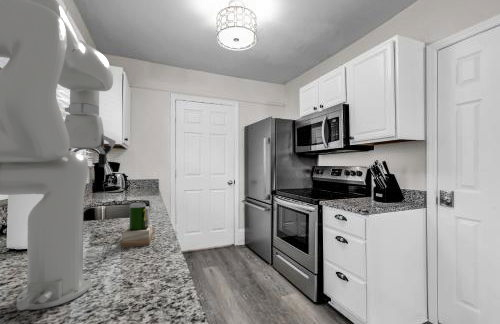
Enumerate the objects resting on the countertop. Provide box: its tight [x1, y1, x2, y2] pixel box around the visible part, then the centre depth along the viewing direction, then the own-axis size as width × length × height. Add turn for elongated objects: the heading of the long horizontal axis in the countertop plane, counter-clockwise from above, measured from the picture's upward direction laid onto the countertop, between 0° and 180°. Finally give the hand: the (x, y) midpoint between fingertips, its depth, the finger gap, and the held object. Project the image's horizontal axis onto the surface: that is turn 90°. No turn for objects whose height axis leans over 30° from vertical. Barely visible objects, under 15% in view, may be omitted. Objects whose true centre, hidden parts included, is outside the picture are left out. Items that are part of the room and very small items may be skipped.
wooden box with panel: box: [120, 205, 156, 248], centre depth 91 cm, size 16×9×11 cm, turn 16°
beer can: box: [129, 202, 147, 231], centre depth 88 cm, size 5×5×12 cm
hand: (84, 167), depth 74 cm, fingers open, 9 cm apart
